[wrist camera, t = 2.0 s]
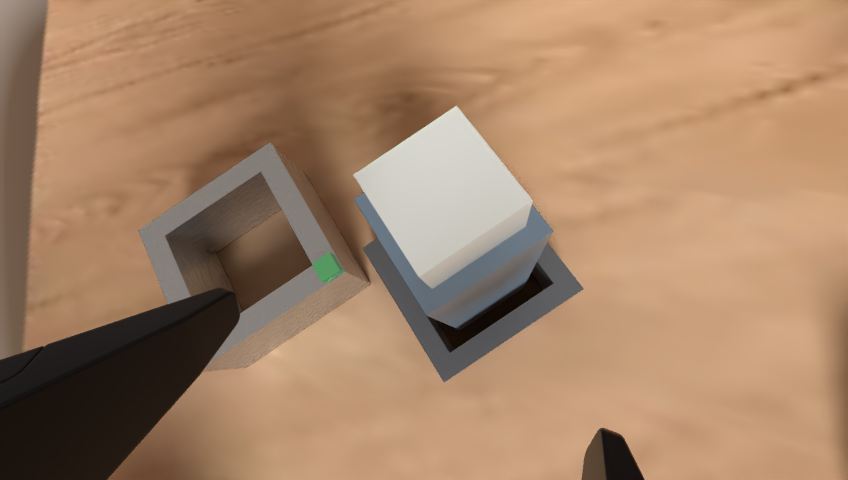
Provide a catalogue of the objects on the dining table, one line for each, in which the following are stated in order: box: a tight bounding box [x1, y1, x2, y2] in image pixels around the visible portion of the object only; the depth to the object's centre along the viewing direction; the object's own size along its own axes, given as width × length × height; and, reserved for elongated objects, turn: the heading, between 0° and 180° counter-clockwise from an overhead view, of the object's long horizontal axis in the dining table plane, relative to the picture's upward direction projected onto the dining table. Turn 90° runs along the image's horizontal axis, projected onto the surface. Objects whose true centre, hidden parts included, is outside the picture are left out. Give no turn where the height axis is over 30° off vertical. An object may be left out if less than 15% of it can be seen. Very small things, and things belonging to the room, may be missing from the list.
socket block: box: [138, 142, 370, 372], centre depth 22 cm, size 8×8×4 cm
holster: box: [363, 238, 583, 382], centre depth 20 cm, size 7×7×3 cm
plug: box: [353, 106, 553, 330], centre depth 15 cm, size 4×4×13 cm
